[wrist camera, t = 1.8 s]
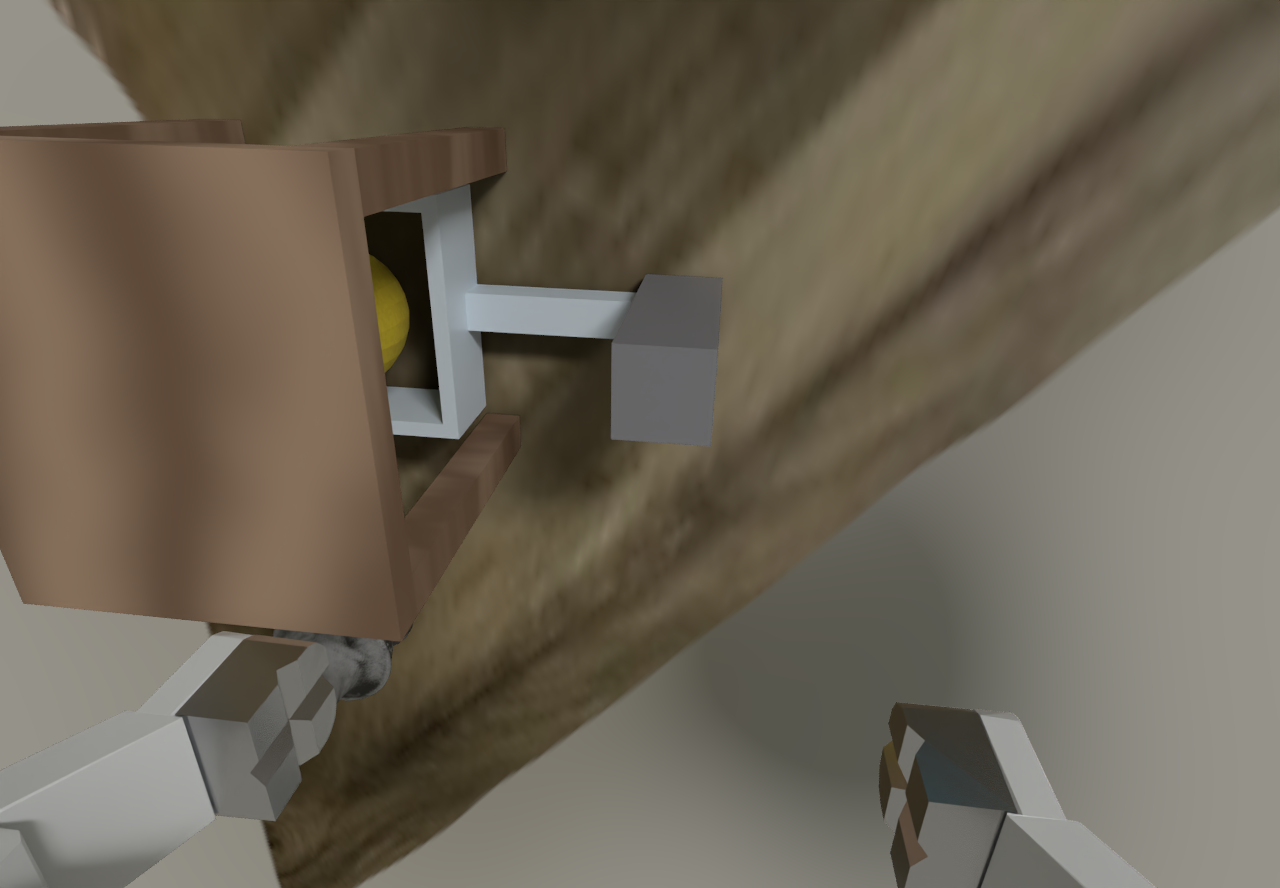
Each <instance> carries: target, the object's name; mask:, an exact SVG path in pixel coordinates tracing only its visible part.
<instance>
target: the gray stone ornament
mask: <svg viewBox="0 0 1280 888" xmlns="http://www.w3.org/2000/svg"><path fill="white" fill-rule="evenodd" d="M412 625H413V624H412ZM412 625H411V627H410V629H409V630H408V632H407V633H406V635H405V637H404V638H403V640H404V639H405V638H406V637H407V635H408V633H409V632H410V630H411V628H412ZM273 637H278V638H286V639H294V640H301V641H309V642H316V643H319V644H321V645H323V646H325V650H326V654H327V657H328V661H329V665H328V666H327V668H326V669H325V670H324V672H323V673H322V675H323V676H324V677H325V678H326V679H327V681H328V682H329V683H330V684H331V685H332V686H333V687H334V690H335V695H336V700H337V701H336V704H337V703H338V701H339V700H347V701H349V700H357V699H363V698H366V697H368V696H371V695H374V694H375V693H376V692H378V691H379V690H380V689H381V688H382V687H383V686H384V685H385V683H386V681H387V680H388V678H389V676H390V671H391V665H392V664H391V658H392V651H393V646H394V645H396V644H399V643H400V641H390V640H380V639H370V638H360V637H350V636H340V635H331V634H321V633H311V632H301V631H291V630H281V629H274V631H273Z"/></svg>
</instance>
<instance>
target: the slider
mask: <svg viewBox="0 0 1280 888" xmlns="http://www.w3.org/2000/svg"><path fill="white" fill-rule="evenodd" d="M384 211H392V212H415V213H421V215H422V224H423V234H424V244H425V254H426V263H427V273H428V283H429V293H430V303H431V312H432V322H433V332H434V342H435V352H436V361H437V371H438V381H439V390H435V389H420V388H405V387H390V386H387V393H388V400H389V408H390V415H391V422H392V430H393V434H395V435H409V436H422V437H436V438H450V439H460V437H461V436H462V435H463V434H464V432H465V431H466V430H467V429H468V427H469V426H470V425H471V424H472V422H473V421H474V420H475V419H476V418H477V416H478V415H479V414H480V413H481V411H482V410H483V409H484V408H485V406H486V398H485V384H484V370H483V357H482V343H481V331H486V332H503V333H520V334H537V335H554V336H571V337H588V338H605V339H614V340H613V342H612V357H611V439H614V440H627V441H641V442H655V443H669V444H683V445H697V446H711V439H712V426H713V412H714V399H715V385H716V372H717V358H718V343H719V327H720V311H721V295H722V279H723V278H713V277H693V276H673V275H653V274H646V275H645V277H644V279H643V281H642V283H641V285H640V287H639V289H638V291H637V293H635V292H616V291H597V290H578V289H559V288H540V287H521V286H502V285H483V284H477V275H476V261H475V247H474V234H473V220H472V206H471V193H470V184H465V185H462V186H459V187H456V188H453V189H449V190H446V191H443V192H440V193H437V194H434V195H431V196H428V197H424V198H421V199H418V200H415V201H412V202H409V203H406V204H403V205H399V206H396V207H393V208H390V209H387V210H384Z"/></svg>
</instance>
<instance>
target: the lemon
mask: <svg viewBox="0 0 1280 888" xmlns="http://www.w3.org/2000/svg"><path fill="white" fill-rule="evenodd" d="M369 260H370V268H371V275H372V282H373V290H374V297H375V304H376V312H377V319H378V327H379V334H380V341H381V349H382V356H383V363H384V371H385V372H386V371H387V370H389V369H390V368H391V367H392V365H393V364H394V363H395V361H396V359H397V358H398V356H399V354H400V353H401V351H402V349H403V348H404V345H405V342H406V339H407V335H408V331H409V308H408V304H407V300H406V296H405V294H404V292H403V290H402V288H401V286H400V284H399V282H398V280H397V279H396V278H395V276H394V275H393V274H392V273H391V271H390V270H389V269H388V268H387V267H386V266H385V265H384V264H383V263H381V262H380V261H379V260H378V259H376V258H375V257H374V256H372V255H370V254H369Z"/></svg>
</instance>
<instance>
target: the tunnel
mask: <svg viewBox="0 0 1280 888" xmlns="http://www.w3.org/2000/svg"><path fill="white" fill-rule="evenodd" d="M506 171H507V163H506V144H505V128H473V127H464V128H454V129H445V130H436V131H426V132H417V133H407V134H398V135H389V136H379V137H370V138H361V139H351V140H342V141H332V142H323V143H314V144H304V145H295V146H280V145H252V144H245V140H244V135H243V130H242V125H241V120H220V119H192V120H166V121H140V122H113V123H88V124H63V125H38V126H37V125H35V126H12V127H11V126H9V127H0V550H1V552H2V555H3V557H4V559H5V561H6V564H7V566H8V568H9V571H10V573H11V576H12V578H13V580H14V583H15V585H16V587H17V590H18V592H19V594H20V597H21V599H22V601H23V603H24V604H35V605H44V606H54V607H64V608H74V609H84V610H93V611H103V612H113V613H124V614H133V615H143V616H153V617H163V618H173V619H182V620H193V621H202V622H212V623H222V624H232V625H242V626H252V627H261V628H271V629H281V630H291V631H301V632H311V633H321V634H331V635H340V636H350V637H360V638H370V639H380V640H390V641H400V642H402V640H403V638H404V637H405V635H406V633H407V632H408V630H409V629H410V627H411V625H412V624H413V622H414V620H415V619H416V617H417V615H418V614H419V612H420V611H421V609H422V607H423V606H424V604H425V602H426V601H427V599H428V597H429V596H430V594H431V593H432V591H433V589H434V588H435V586H436V584H437V583H438V581H439V579H440V578H441V576H442V575H443V573H444V571H445V570H446V568H447V566H448V565H449V563H450V562H451V560H452V558H453V557H454V555H455V553H456V552H457V550H458V548H459V547H460V545H461V544H462V542H463V540H464V539H465V537H466V535H467V534H468V532H469V530H470V529H471V527H472V526H473V524H474V522H475V521H476V519H477V517H478V516H479V514H480V512H481V511H482V509H483V508H484V506H485V504H486V503H487V501H488V499H489V498H490V496H491V494H492V493H493V491H494V490H495V488H496V486H497V485H498V483H499V481H500V480H501V478H502V476H503V475H504V473H505V472H506V470H507V468H508V467H509V465H510V463H511V462H512V460H513V459H514V457H515V455H516V454H517V452H518V450H519V449H520V447H521V433H520V416H519V415H504V414H490V413H487V414H486V415H485V416H484V417H483V419H482V420H481V421H480V422H479V424H478V425H477V426H476V428H475V429H474V430H473V431H472V433H471V434H470V435H469V436H468V438H467V439H466V440H465V442H464V443H463V444H462V445H461V447H460V448H459V449H458V451H457V452H456V453H455V454H454V456H453V457H452V458H451V459H450V461H449V462H448V463H447V465H446V466H445V467H444V468H443V470H442V471H441V472H440V473H439V475H438V476H437V477H436V479H435V480H434V481H433V482H432V484H431V485H430V486H429V487H428V489H427V490H426V491H425V493H424V494H423V495H422V496H421V498H420V499H419V500H418V501H417V503H416V504H415V505H414V507H413V508H412V509H411V510H410V512H409V513H408V514H407V516H406V517H405V518H404V511H403V504H402V496H401V489H400V481H399V474H398V467H397V459H396V452H395V445H394V437H393V430H392V422H391V415H390V408H389V400H388V393H387V386H386V378H385V371H384V363H383V356H382V349H381V341H380V334H379V327H378V319H377V312H376V304H375V297H374V290H373V282H372V275H371V268H370V260H369V253H368V246H367V238H366V231H365V223H364V217H365V216H368V215H371V214H374V213H378V212H381V211H384V210H387V209H390V208H393V207H396V206H399V205H403V204H406V203H409V202H412V201H415V200H418V199H421V198H424V197H428V196H431V195H434V194H437V193H440V192H443V191H446V190H449V189H453V188H456V187H459V186H462V185H465V184H468V183H471V182H475V181H478V180H481V179H484V178H487V177H490V176H493V175H496V174H500V173H503V172H506Z"/></svg>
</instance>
